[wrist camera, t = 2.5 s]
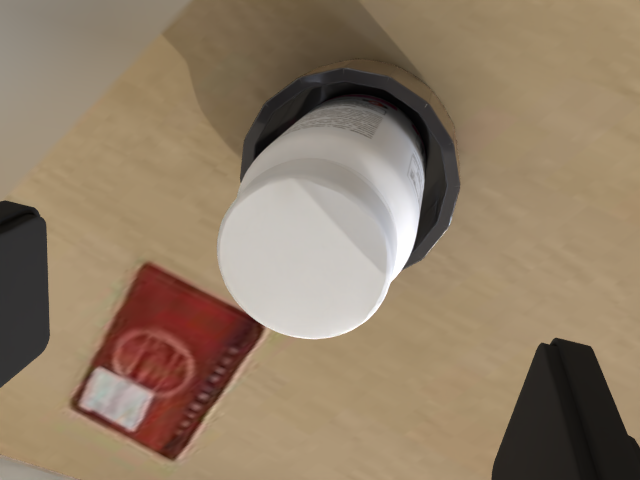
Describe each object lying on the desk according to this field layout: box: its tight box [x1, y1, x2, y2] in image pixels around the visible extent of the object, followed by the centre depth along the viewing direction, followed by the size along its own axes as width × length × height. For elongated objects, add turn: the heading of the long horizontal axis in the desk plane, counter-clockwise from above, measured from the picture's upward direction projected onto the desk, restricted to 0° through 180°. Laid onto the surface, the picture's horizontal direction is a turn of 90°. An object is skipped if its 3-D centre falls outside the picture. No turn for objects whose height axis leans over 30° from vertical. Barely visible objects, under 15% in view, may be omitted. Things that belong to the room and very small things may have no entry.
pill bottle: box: [217, 94, 427, 339], centre depth 16 cm, size 5×5×8 cm
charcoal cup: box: [240, 59, 460, 271], centre depth 19 cm, size 7×7×3 cm
